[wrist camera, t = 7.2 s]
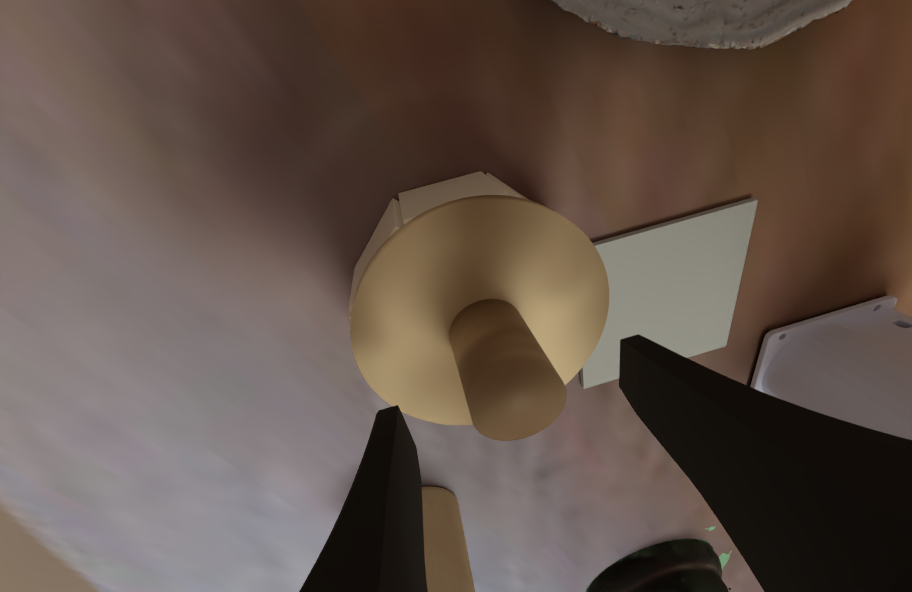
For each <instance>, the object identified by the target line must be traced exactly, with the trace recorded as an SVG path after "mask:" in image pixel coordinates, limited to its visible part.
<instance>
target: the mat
mask: <svg viewBox="0 0 912 592" xmlns="http://www.w3.org/2000/svg"><path fill="white" fill-rule="evenodd" d="M757 203H758V199H754V198H749V199H745V200H742V201H738V202H735V203H731V204H728V205H724V206H721V207H717V208H714V209H710V210H706V211H703V212H699V213H696V214H692V215H689V216H685V217H682V218H678V219H675V220H671V221H667V222H664V223H660V224H657V225H653V226H650V227H646V228H643V229H639V230H636V231H632V232H628V233H625V234H621V235H618V236H614V237H611V238H607V239H604V240H600V241H597V242H593V245H594V246H595V247H596V249H597V251H598V253H599V255H600V257H601V259H602V261H603V263H604V266H605V270H606V273H607V276H608V284H609V308H608V315H607V320H606V323H605V326H604V330H603V333H602V335H601V337H600V339H599V342H598V344H597V346H596V348H595V349H594V351H593V353H592V354H591V356H590V358H589V359H588V360H587V362H586V363H585V364H584V366H583V367H582V368H581V369H580V378H581V386H582V387H583V389H585V388H588V387H592V386H595V385H598V384H602V383H605V382H608V381H612V380H615V379H618V378H619V367H620V340H621V339H624V338H627V337H631V336H634V335H638V334H639V335H641V336H643V337H645V338H647V339H649V340H651V341H654V342H656V343H658V344H660V345H662V346H664V347H666V348H667V349H669V350H671V351H673V352H676V353H678V354H680V355H682V356H684V357H686V358H688V357H691V356H694V355H698V354H701V353H704V352H708V351H711V350H714V349H718V348H721V347H724V346H726V345H727V340H728V335H729V331H730V326H731V322H732V317H733V312H734V308H735V303H736V299H737V294H738V290H739V285H740V280H741V276H742V271H743V267H744V262H745V258H746V253H747V248H748V244H749V239H750V235H751V230H752V226H753V221H754V216H755V212H756V207H757Z"/></svg>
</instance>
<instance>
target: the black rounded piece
mask: <svg viewBox="0 0 912 592" xmlns="http://www.w3.org/2000/svg"><path fill="white" fill-rule="evenodd" d="M706 529H708V528H706ZM713 529H715V527H714V526H713V527H710V528H709V529H708V530H713ZM731 552H732V551H730V553H731ZM729 556H730V554H725V553H722V554H721V555H720V557H719V558H718V556H717V554H716V553H715V552H714V548H712V546H711V545H710V544H709V543H708V542H707V541H705V540H696V539H680V540H673V541H668V542H664V543H660V544H657V545H654V546H651V547H648V548H645V549H642V550H640V551H637V552H635V553H633V554H631V555H629V556H627V557H625V558H623V559H621V560H619V561H618V562H616V563H615V564H613V565H612V566H610V567H608V568H607V569H606V570H604V571H603V572H602V573H601V574H600V575H599V576H598V577H597V578H596V579H595V580H594V581H593V582H592V583H591V584H590V586H589V587H588V589H587V590H586V592H729V591H728V588H727V587H726V585H725V584H724V582H723V581H722V579H721V578H722V569H723V567H724V566H725V564H726V563H727V561H728V560H729ZM729 590H731V588H729Z"/></svg>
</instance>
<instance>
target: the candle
mask: <svg viewBox="0 0 912 592" xmlns="http://www.w3.org/2000/svg"><path fill="white" fill-rule="evenodd" d="M422 507H423V530H424V554H425V569H426V581H427V589H428V592H475V589H474V583H473V578H472V573H471V568H470V562H469V557H468V552H467V546H466V541H465V536H464V530H463V525H462V520H461V515H460V510H459V505H458V502H457V499H456V497H455V495H454V494H453V493H452V492H450V491H449V490H446V489H444V488H440V487H422Z"/></svg>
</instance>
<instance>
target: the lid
mask: <svg viewBox="0 0 912 592" xmlns="http://www.w3.org/2000/svg"><path fill="white" fill-rule="evenodd" d="M608 308H609V284H608V276H607V273H606V270H605V266H604V263H603V261H602V259H601V257H600V255H599V253H598V251H597V249H596V247H595V246H594V245H593V243H592V242H591V241H590V239H589V238H588V237H587V236H586V235H585V234H584V233H583V232H582V231H581V230H580V229H579V228H578V227H577V226H576V225H574V224H573V223H572V222H570V221H569V220H567V219H566V218H564V217H563V216H561V215H560V214H558V213H557V212H556V211H554V210H552V209H550V208H548V207H546V206H544V205H542V204H540V203H537V202H534V201H531V200H527V199H524V198H520V197H513V196H507V195H480V196H472V197H465V198H461V199H457V200H453V201H449V202H446V203H444V204H441V205H439V206H436V207H434V208H431V209H429V210H427V211H425V212H423V213H422V214H420V215H418V216H416V217H414V218H413V219H411V220H410V221H408V222H407V223H406V224H404V225H403V226H402V227H400V228H399V229H398V230H396V231H395V232H394V233H393V234H392V235H391V236H390V237H389V238H388V239H387V240H386V241H385V242H384V243H383V244H382V245H381V246H380V248H379V249H378V250H377V252H376V253H375V254H374V256H373V257H372V258H371V260H370V261H369V263H368V265H367V267H366V268H365V270H364V272H363V274H362V276H361V279H360V281H359V284H358V286H357V289H356V293H355V298H354V302H353V308H352V315H351V330H350V333H351V343H352V349H353V353H354V356H355V360H356V363H357V365H358V367H359V369H360V371H361V374H362V375H363V377H364V378H365V380H366V381H367V383H368V384H369V386H370V387H371V388H372V389H373V390H374V391H375V392H376V393H377V394H378V395H379V396H380V397H381V398H382V399H384V400H385V401H386V402H387V403H388V404H390V405H391V406H396V405H398V406H399V408H400V411H401V412H404V413H406V414H408V415H410V416H412V417H415V418H418V419H421V420H425V421H428V422H434V423H439V424H448V425H474V427H475V428H476V429H477V430H478V431H479V432H480V433H481V434H482V435H484V436H486V437H488V438H491V439H494V440H501V441H512V440H518V439H523V438H526V437H529V436H532V435H534V434H536V433H538V432H540V431H541V430H543V429H545V428H546V427H547V426H549V425H550V424H551V423H552V422H553V421H554V420H555V419H556V418H557V417H558V415H559V414H560V413H561V411H562V409H563V407H564V405H565V401H566V388H565V385H566V384H567V383H568V382H569V381H570V380H571V379H572V378H573V377H574V376H575V375H576V374H577V373H578V372H579V371H580V369H581V368H582V367H583V366H584V364H585V363H586V362H587V360H588V359H589V358H590V356H591V354H592V353H593V351H594V349H595V348H596V346H597V344H598V342H599V339H600V337H601V335H602V333H603V330H604V326H605V323H606V320H607V315H608Z"/></svg>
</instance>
